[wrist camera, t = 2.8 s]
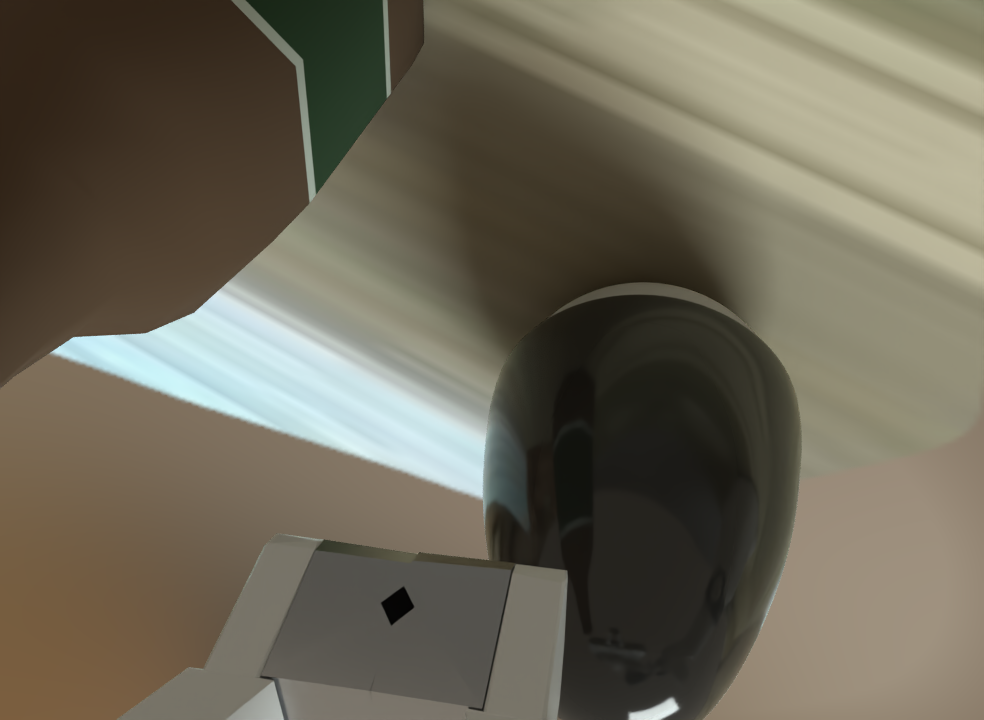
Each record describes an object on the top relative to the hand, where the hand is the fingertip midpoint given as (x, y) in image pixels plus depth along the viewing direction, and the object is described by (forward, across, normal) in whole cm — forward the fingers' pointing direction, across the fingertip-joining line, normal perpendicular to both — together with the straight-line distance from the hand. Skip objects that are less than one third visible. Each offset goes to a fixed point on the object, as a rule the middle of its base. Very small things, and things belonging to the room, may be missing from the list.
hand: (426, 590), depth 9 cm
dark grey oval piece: (+22, -2, +13) cm, 26 cm away
